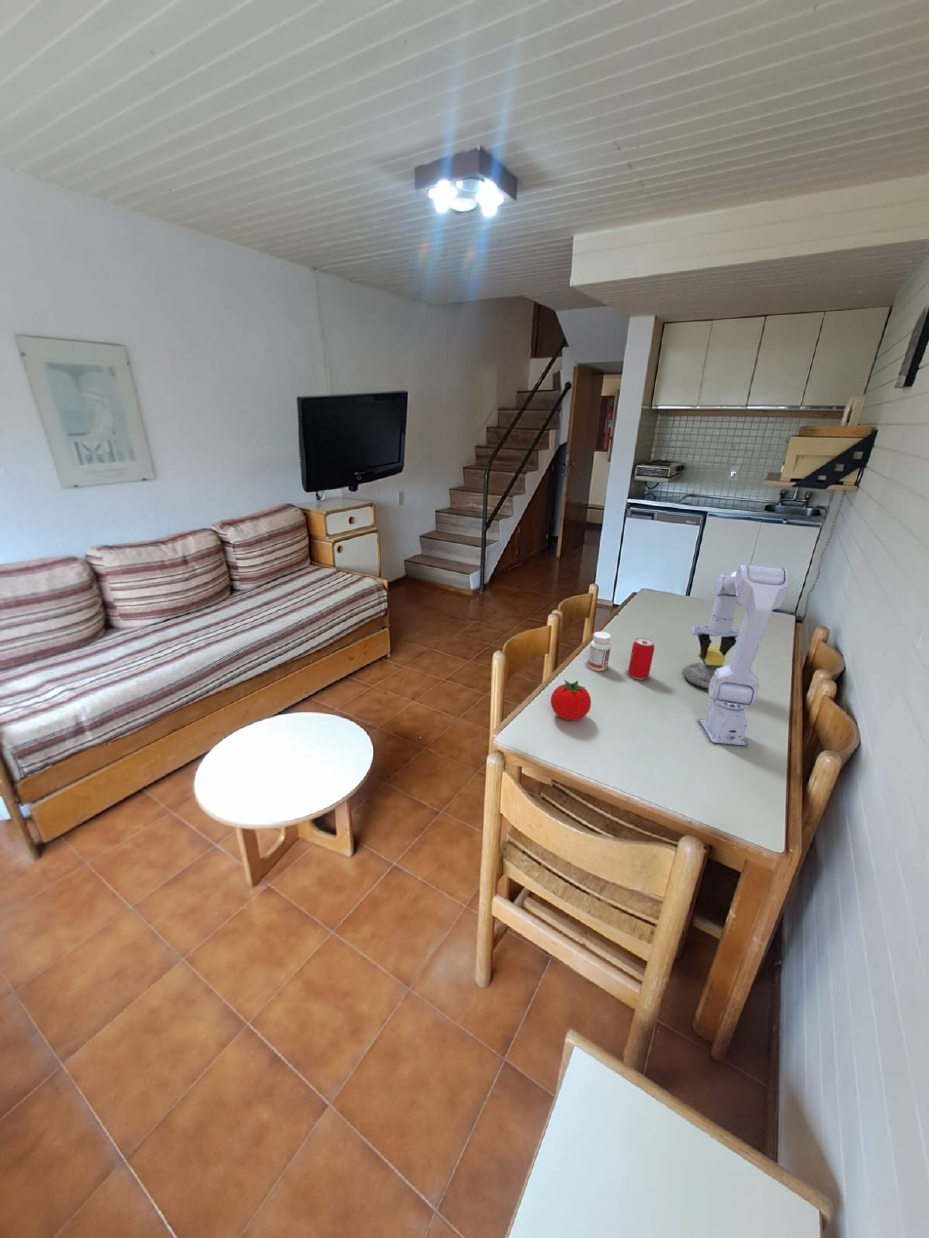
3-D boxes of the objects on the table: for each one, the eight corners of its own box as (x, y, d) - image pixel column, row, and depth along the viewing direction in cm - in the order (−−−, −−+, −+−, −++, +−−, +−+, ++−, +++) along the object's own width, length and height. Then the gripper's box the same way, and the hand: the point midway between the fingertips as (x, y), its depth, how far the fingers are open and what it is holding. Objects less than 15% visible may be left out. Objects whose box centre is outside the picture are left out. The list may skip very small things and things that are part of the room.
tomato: (594, 726, 128) (600, 693, 124) (555, 729, 126) (560, 695, 122) (580, 704, 137) (584, 673, 133) (544, 706, 136) (547, 675, 132)
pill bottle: (601, 661, 162) (606, 630, 157) (610, 670, 156) (616, 638, 152) (584, 662, 160) (588, 631, 156) (592, 672, 155) (597, 639, 150)
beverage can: (645, 671, 156) (652, 637, 151) (650, 681, 150) (657, 646, 146) (625, 670, 157) (632, 636, 152) (629, 679, 151) (636, 644, 146)
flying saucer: (672, 678, 153) (675, 662, 151) (695, 664, 162) (699, 650, 160) (720, 699, 142) (725, 683, 140) (742, 683, 151) (747, 668, 149)
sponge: (722, 667, 144) (725, 657, 143) (706, 666, 145) (709, 656, 143) (713, 656, 151) (716, 646, 149) (698, 655, 151) (701, 645, 150)
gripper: (742, 612, 145) (731, 653, 150) (692, 609, 146) (682, 649, 151) (753, 621, 138) (740, 664, 144) (700, 618, 139) (690, 660, 145)
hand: (711, 657), depth 147 cm, fingers closed on sponge, 4 cm apart
